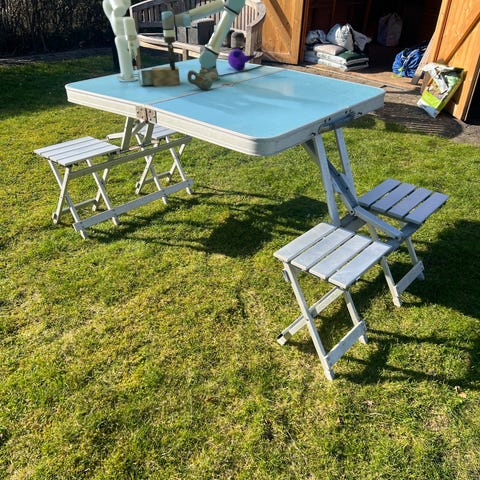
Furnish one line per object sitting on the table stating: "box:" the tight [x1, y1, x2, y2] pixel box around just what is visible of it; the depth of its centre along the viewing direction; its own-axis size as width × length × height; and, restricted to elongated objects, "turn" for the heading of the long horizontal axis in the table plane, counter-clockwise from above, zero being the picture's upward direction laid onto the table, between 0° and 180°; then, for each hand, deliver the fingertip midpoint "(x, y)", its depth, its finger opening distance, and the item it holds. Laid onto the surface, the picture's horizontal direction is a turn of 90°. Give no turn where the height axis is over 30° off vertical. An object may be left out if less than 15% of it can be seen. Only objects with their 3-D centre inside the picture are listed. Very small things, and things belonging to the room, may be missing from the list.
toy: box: [227, 48, 258, 72], centre depth 368 cm, size 16×18×27 cm
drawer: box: [130, 69, 154, 87], centre depth 323 cm, size 23×10×9 cm, turn 102°
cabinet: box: [151, 65, 181, 88], centre depth 325 cm, size 19×11×11 cm, turn 102°
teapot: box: [187, 66, 218, 91], centre depth 306 cm, size 21×12×15 cm, turn 109°
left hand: (134, 66), depth 317 cm, fingers closed
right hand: (172, 68), depth 323 cm, fingers open, 13 cm apart
